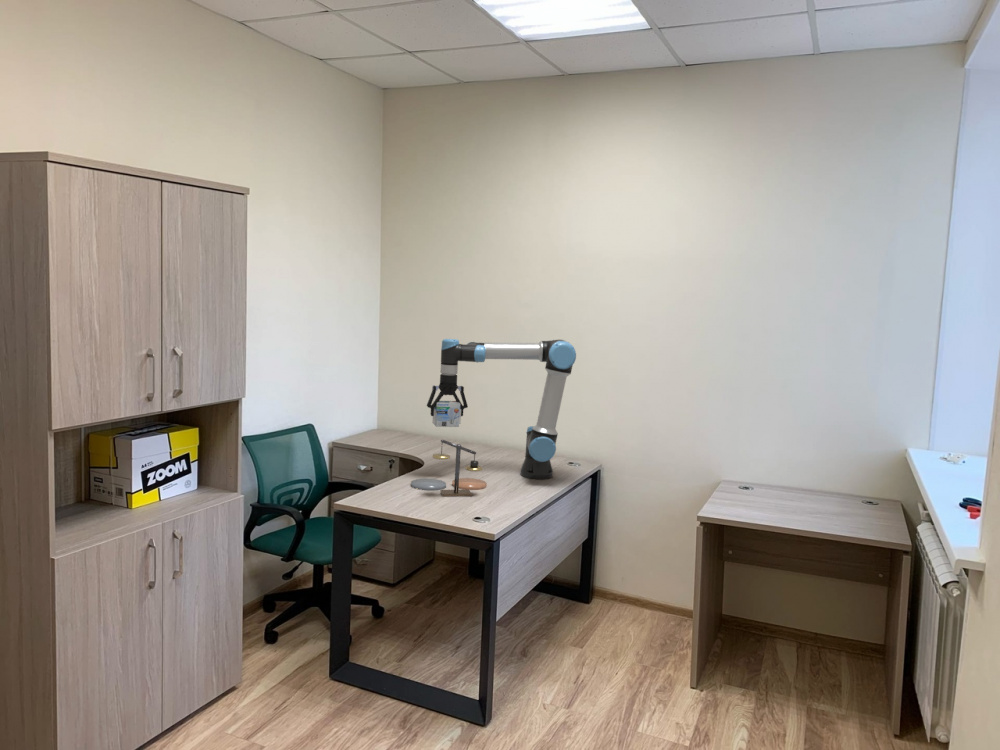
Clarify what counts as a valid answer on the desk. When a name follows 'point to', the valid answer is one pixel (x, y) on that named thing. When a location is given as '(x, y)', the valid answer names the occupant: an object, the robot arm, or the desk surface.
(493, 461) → the desk surface
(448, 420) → the light bulb box
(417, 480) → the slate dish
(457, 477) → the balance
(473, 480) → the terracotta dish
